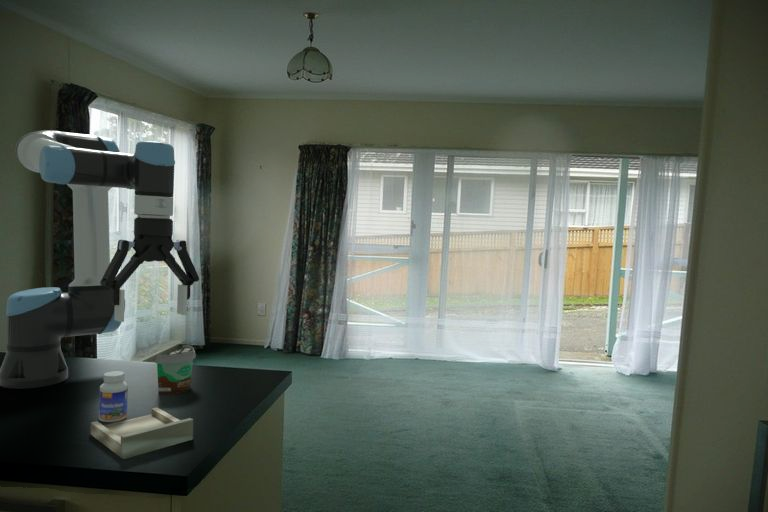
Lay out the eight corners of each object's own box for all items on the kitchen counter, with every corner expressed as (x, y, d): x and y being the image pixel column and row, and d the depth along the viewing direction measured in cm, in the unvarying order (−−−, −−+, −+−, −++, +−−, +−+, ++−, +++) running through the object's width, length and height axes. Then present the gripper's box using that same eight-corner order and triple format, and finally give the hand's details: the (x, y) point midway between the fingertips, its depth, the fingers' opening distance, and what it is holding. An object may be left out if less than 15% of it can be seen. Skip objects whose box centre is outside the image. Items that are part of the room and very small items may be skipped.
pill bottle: (97, 424, 113) (98, 378, 113) (99, 415, 118) (100, 371, 118) (126, 421, 116) (127, 376, 115) (127, 412, 120) (128, 369, 120)
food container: (177, 398, 131) (178, 357, 130) (154, 395, 132) (155, 355, 132) (204, 384, 143) (205, 346, 143) (183, 381, 144) (184, 344, 144)
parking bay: (90, 434, 108) (90, 414, 108) (156, 418, 118) (157, 400, 118) (123, 459, 98) (123, 437, 98) (192, 439, 108) (193, 419, 108)
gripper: (99, 215, 102) (97, 327, 104) (216, 219, 121) (213, 314, 123) (83, 214, 107) (81, 321, 109) (198, 218, 126) (196, 309, 128)
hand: (151, 317), depth 116 cm, fingers open, 13 cm apart
